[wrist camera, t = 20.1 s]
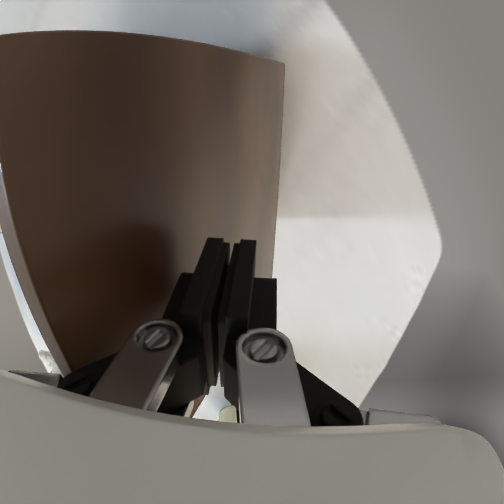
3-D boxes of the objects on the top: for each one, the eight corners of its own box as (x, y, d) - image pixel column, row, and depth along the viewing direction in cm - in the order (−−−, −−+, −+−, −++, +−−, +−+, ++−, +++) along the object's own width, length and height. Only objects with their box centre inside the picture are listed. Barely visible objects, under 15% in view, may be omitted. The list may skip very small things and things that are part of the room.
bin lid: (134, 479, 11) (149, 487, 10) (-24, 47, 3) (-6, 34, 3) (262, 277, 25) (272, 279, 25) (272, 63, 17) (285, 63, 17)
